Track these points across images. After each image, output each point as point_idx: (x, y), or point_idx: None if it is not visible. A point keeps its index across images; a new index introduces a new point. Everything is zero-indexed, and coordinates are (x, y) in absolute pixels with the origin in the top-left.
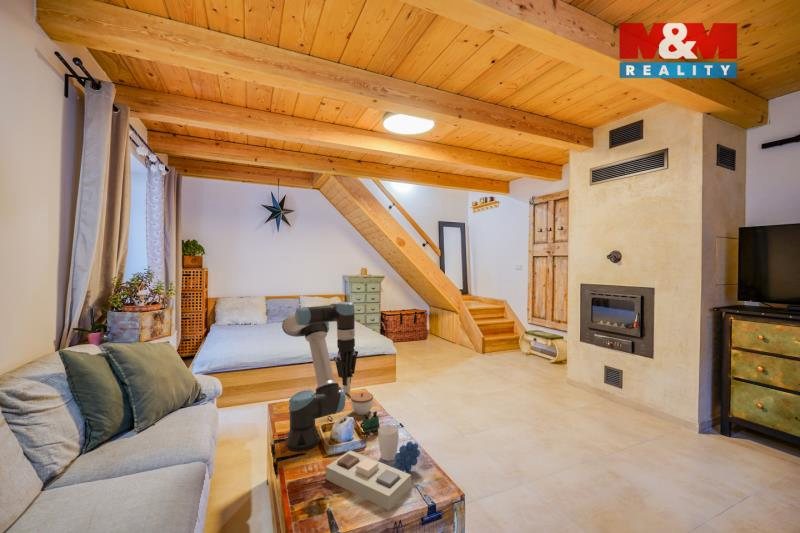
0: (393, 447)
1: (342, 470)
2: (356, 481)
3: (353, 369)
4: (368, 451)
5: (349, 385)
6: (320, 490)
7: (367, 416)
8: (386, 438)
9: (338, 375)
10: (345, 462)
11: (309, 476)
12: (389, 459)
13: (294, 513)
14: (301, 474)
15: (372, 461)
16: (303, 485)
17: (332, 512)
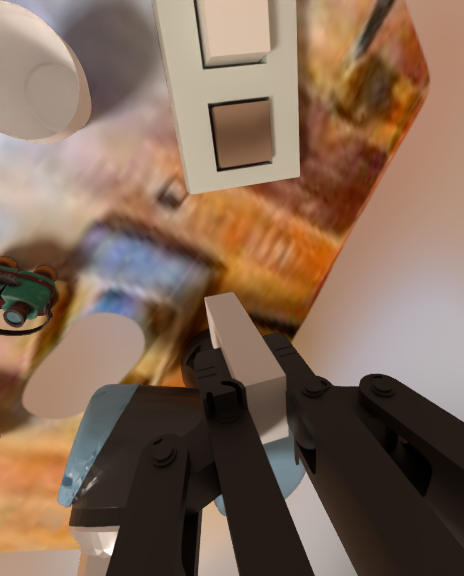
0: (42, 37)
1: (283, 112)
2: (295, 11)
3: (166, 514)
4: (103, 192)
5: (226, 326)
6: (321, 143)
7: (16, 307)
8: (66, 45)
9: (400, 445)
10: (262, 127)
11: (300, 219)
12: (74, 70)
13: (404, 120)
14: (306, 242)
15: (210, 7)
16: (330, 198)
17: (363, 31)
